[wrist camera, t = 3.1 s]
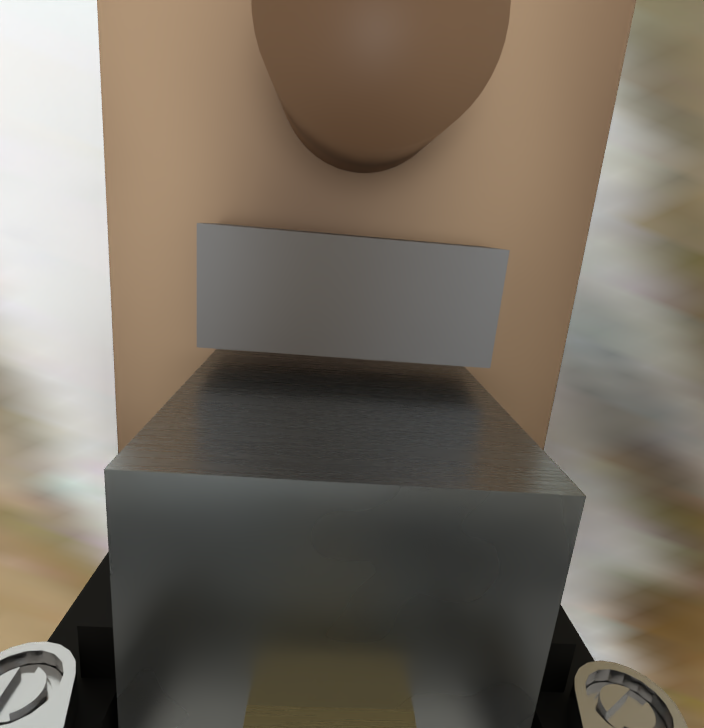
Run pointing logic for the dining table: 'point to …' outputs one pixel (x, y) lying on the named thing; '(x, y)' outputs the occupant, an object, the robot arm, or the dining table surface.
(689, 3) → the dining table surface
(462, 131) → the plane body
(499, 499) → the lever cap
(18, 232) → the dining table surface
